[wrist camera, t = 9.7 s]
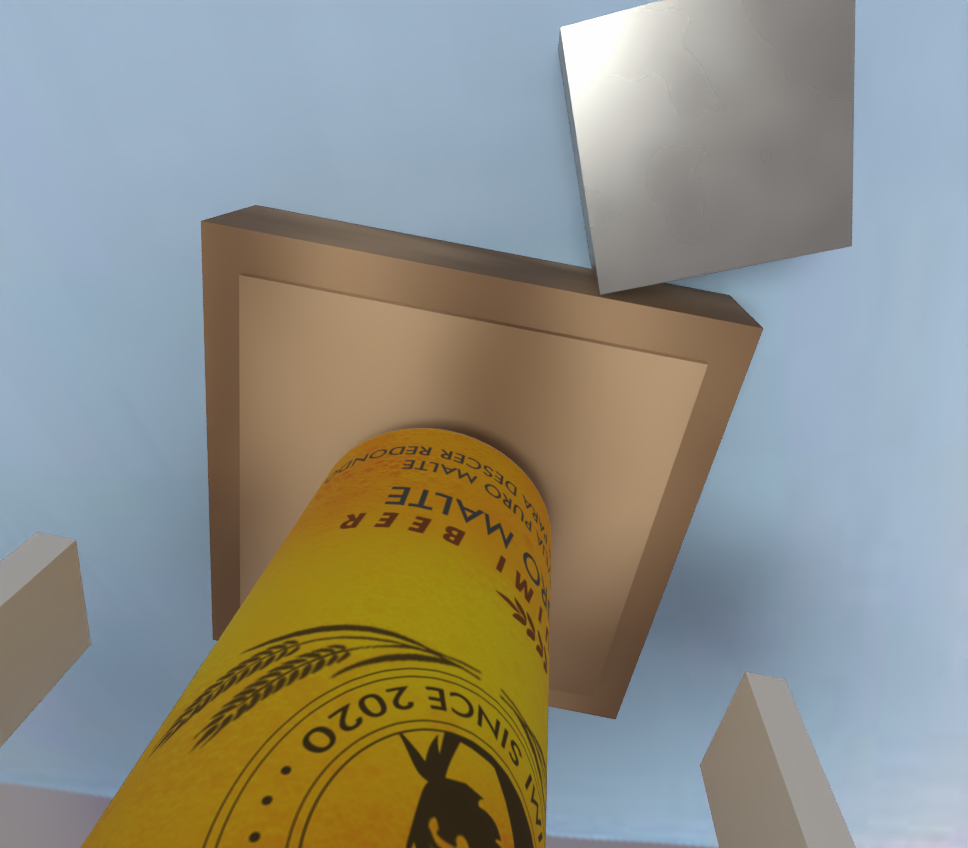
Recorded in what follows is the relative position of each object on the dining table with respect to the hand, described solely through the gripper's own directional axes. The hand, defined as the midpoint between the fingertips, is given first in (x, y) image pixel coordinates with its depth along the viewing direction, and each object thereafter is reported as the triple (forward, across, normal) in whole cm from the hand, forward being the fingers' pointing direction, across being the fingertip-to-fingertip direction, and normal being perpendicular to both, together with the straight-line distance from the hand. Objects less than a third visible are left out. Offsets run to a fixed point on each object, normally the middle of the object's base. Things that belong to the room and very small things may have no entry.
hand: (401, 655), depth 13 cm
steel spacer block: (+8, +4, +10) cm, 14 cm away
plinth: (+8, 0, 0) cm, 8 cm away
